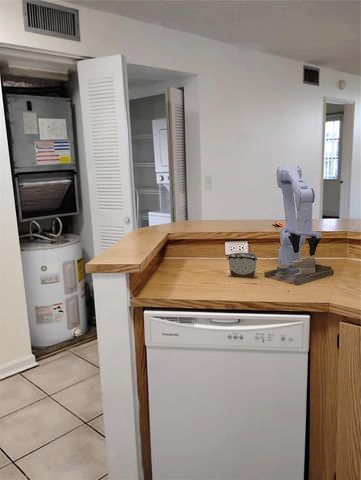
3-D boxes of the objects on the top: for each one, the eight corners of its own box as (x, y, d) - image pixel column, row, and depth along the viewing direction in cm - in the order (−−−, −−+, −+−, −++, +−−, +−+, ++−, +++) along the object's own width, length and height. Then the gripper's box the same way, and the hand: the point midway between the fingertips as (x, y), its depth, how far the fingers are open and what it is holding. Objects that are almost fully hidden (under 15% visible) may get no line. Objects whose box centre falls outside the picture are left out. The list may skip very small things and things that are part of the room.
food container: (261, 277, 166) (261, 253, 165) (257, 281, 161) (257, 256, 159) (232, 275, 172) (231, 251, 170) (227, 279, 166) (226, 254, 164)
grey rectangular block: (292, 276, 162) (292, 261, 161) (310, 271, 168) (310, 257, 167) (297, 277, 160) (297, 262, 159) (315, 272, 166) (315, 257, 165)
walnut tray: (264, 279, 163) (264, 269, 162) (300, 269, 175) (300, 260, 175) (296, 288, 150) (297, 277, 149) (333, 276, 162) (333, 267, 162)
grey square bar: (275, 277, 162) (275, 266, 161) (282, 275, 164) (282, 265, 164) (295, 282, 154) (295, 271, 153) (302, 280, 156) (302, 269, 155)
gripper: (282, 219, 164) (282, 252, 166) (313, 222, 152) (313, 258, 155) (294, 217, 168) (294, 250, 170) (325, 220, 156) (324, 255, 159)
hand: (304, 254), depth 163 cm, fingers open, 7 cm apart
